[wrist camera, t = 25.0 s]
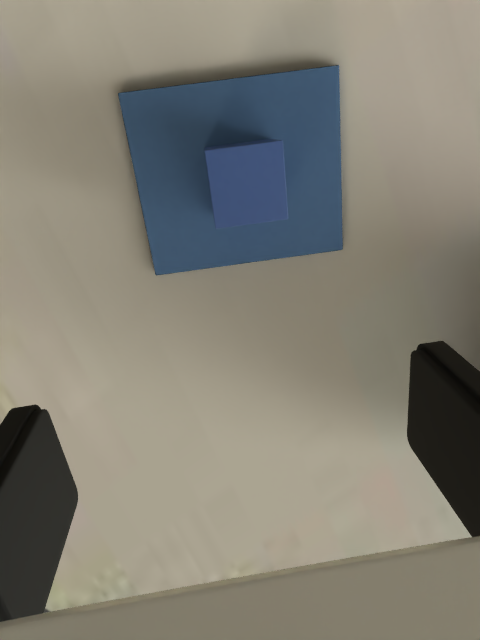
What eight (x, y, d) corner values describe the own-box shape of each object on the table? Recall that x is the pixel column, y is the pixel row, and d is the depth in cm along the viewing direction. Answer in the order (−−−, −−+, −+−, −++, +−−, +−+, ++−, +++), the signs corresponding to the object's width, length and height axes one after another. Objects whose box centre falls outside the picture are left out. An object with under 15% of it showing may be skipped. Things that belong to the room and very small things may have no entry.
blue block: (213, 215, 30) (215, 229, 26) (204, 147, 29) (204, 150, 24) (276, 207, 30) (288, 219, 26) (271, 138, 29) (282, 140, 25)
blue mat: (156, 273, 32) (155, 275, 32) (119, 93, 27) (117, 93, 27) (340, 247, 33) (343, 249, 32) (336, 66, 28) (339, 65, 27)
